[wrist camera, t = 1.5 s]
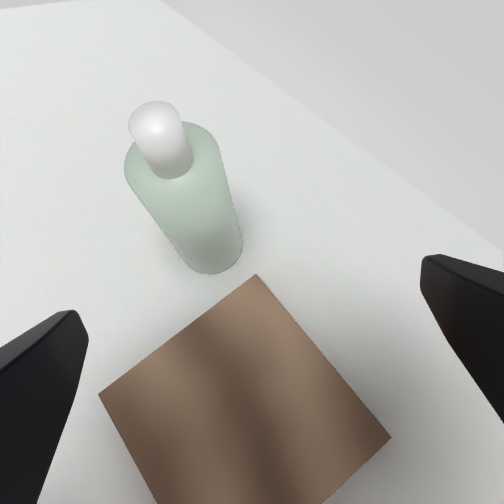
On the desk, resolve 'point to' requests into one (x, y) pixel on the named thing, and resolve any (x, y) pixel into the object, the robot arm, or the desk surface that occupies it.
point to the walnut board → (242, 410)
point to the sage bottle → (183, 186)
